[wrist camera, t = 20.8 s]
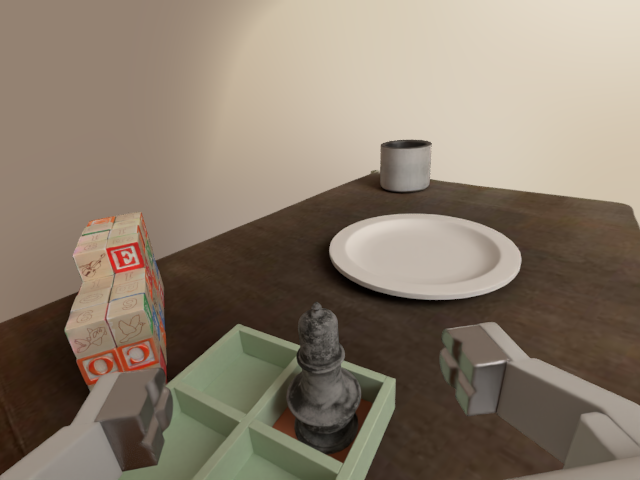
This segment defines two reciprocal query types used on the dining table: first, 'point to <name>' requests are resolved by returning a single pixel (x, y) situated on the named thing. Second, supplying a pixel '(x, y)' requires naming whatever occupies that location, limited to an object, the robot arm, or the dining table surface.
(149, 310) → the stack of blocks
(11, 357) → the dining table surface
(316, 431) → the grey chess piece
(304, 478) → the grid
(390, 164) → the planter
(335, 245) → the plate
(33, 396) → the dining table surface
